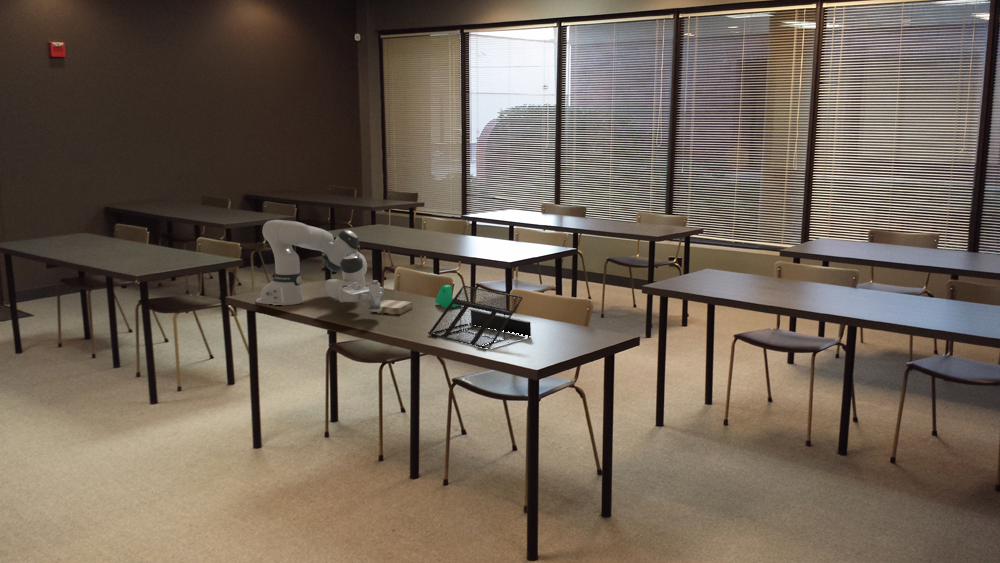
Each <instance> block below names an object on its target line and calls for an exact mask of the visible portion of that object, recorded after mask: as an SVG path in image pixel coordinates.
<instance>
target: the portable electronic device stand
mask: <svg viewBox="0 0 1000 563" xmlns="http://www.w3.org/2000/svg"><path fill="white" fill-rule="evenodd" d="M463 290H464V291H463ZM463 296H465V297H463ZM461 297H463V298H461ZM522 301H523V296H519V295H515V294H510V293H509V294H508V293H504V292H500V291H493V290H487V289H483V288H478V287H473V286H469V285H463V286H461V288H460V289H459V291H458V292H457V293H456V295H455V296H454V297H453V300H452V302H451V303H450V304H449V306H448V307H447V308H446V307H445V310H444V311H443V312H442V314H441V316H440V317H439V318H438V319H437V321H436V322H435V323H434V325H433V327H431V329H430V330H429V331H427V334H428V335H429V336H431V335H432V336H431V337H434V336H436V337H435V338H438V337H439V338H442V339H446V340H450V341H453V342H457V341H458V343H461V342H463V343H462V344H465V343H467V344H466V345H469V344H472V345H476V346H478V347H482V348H488V349H487V350H490V349H491V348H492V345H493V344H495V343H494V341H496V340H497V339H499V338H498V337H499V336H500V335H501V333H502V332H501V331H503V330H504V333H503V337H502V339H504V340H505V338H506V339H507V338H508V337H509V338H510V337H511V338H512V336H514V335H509V336H506V337H505V334H506V333H505V332H508V331H509V332H510V333H512V332H514V333H515V334H516V333H519V335H521V334H523V336H525V335H528V337H529V336H531V337H532V330H531V329H532V327H531V321H528V320H524V319H520V318H514V317H513V315H514V314H515V312H516V310H517V309H518V307H519V306H520V304H521V302H522ZM453 304H456V307H455V305H454V307H451V306H452V305H453ZM457 305H460V306H457ZM468 324H470V325H468ZM471 324H472V325H471ZM464 325H465V326H464ZM466 325H467V326H466ZM474 325H476V326H474ZM461 326H463V327H461ZM478 326H481V327H478ZM457 327H459V328H457ZM473 327H474V328H473ZM475 327H477V328H475ZM453 328H455V329H453ZM486 328H487V329H486ZM488 328H490V329H493V330H491V331H490V329H488ZM466 329H467V330H466ZM494 329H496V330H497V331H495V330H494ZM444 330H446V331H444ZM462 330H463V331H462ZM464 330H465V331H466V332H464ZM442 331H443V332H442ZM459 331H461V332H459ZM455 332H456V333H455ZM433 333H435V334H433ZM452 333H454V334H452ZM474 333H475V334H474ZM482 335H484V336H482ZM517 335H518V334H517ZM490 337H492V338H490ZM485 339H486V340H485ZM500 339H501V338H500ZM500 339H499V340H500ZM519 339H520V338H519ZM519 339H517V340H519ZM490 342H491V343H490ZM509 342H510V341H509ZM509 342H507V343H509ZM487 343H489V345H488V344H487ZM483 344H484V345H485V344H487V345H485V346H482V345H483ZM472 345H471V346H472ZM476 346H475V347H476ZM478 347H477V348H478Z"/></svg>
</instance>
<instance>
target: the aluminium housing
mask: <svg viewBox="0 0 1000 563" xmlns="http://www.w3.org/2000/svg"><path fill="white" fill-rule="evenodd" d="M368 286H369V294H370V295H372V299H368V302H369V306H368V308H367V312H368V313H369V312H370V313H373V312H380V311H382V308H381V307H380V299H381V297H380V287H381V283H380V282H379V280H378V279H377V280H376V279H375V280H374V279H373V280H370V282H369V283H368Z"/></svg>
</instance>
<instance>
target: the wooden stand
mask: <svg viewBox="0 0 1000 563" xmlns="http://www.w3.org/2000/svg"><path fill="white" fill-rule="evenodd" d="M380 307H381V308H382V311H380V312H377V314H384V313H389V314H388V315H395V314H400V315H403V314H404V313H407V312H409V311H410V310H412V309H413V302H412V301H406V300H405V301H403V300H393V299H384V300H381V302H380Z"/></svg>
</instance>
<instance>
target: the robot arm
mask: <svg viewBox="0 0 1000 563" xmlns="http://www.w3.org/2000/svg"><path fill="white" fill-rule="evenodd" d="M261 233H262V236H263V238H264V239H265V240H266V241H267V242H268V243H269V245H270V247H271V250H272V253H273V258H274V265H275V268H274V269H275V273H273V274H270V278H272V280H271V281H270V282H269V283H268V284H267V285H265V286H264V287H262V289H261V293H260V297H259V298H256V301H255V303H257V304H264V305H269V304H273V305H272V306H275V305H282V306H291V305H293V306H294V305H298V304H302V303H304V302H305V299H304V297H303V296H304V295H303V290H302V285H301V282H302V278H301V277H302V275H301V274H302V273H301V271H300V256H299V254H298V253H297V252H296V251H295V250H294V248H293V246H296V247H300V248H302V249H303V248H304V249H308V250H314V251H319V252H322V254H321V258H322V260H323V264H324V265H325V267H326V268H327V269H328V270H330V271H331V272H335V273H340V272H341V274H342V279H336V278H330V279H327V280H326V282H325V284H324V291H325V294H326V295H327V296H328V297H329V298H330V297H331V298H333V299H335V300H338V301H339V302H340V303H357V302H359V301H363V300H369V299H372V295H370V294H369V285H368V286H366V279H365V275H366V273H367V270H368V263H367V260H366V257H365V256H364V254H362V253H360V252H359V251H358V249H360V248H361V246H360V240H359V237H358V235H356V234H357V233H355V232H353V231H352V230H347V229H342V230H341V231H339V233H338V234H337V237H336V238H335V239H334V235H333V234H332V233H331V232H330V231H327V230H326V229H324V228H323V229H322V228H321V227H320V228H319V227H316V226H312V225H308V224H306V223H303V222H299V221H295V220H294V221H293V220H283V219H272V220H267V221H266V222H265V223H264V224H263V226H262V232H261ZM383 295H384V287H383V286H380V298H381V297H383Z"/></svg>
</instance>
